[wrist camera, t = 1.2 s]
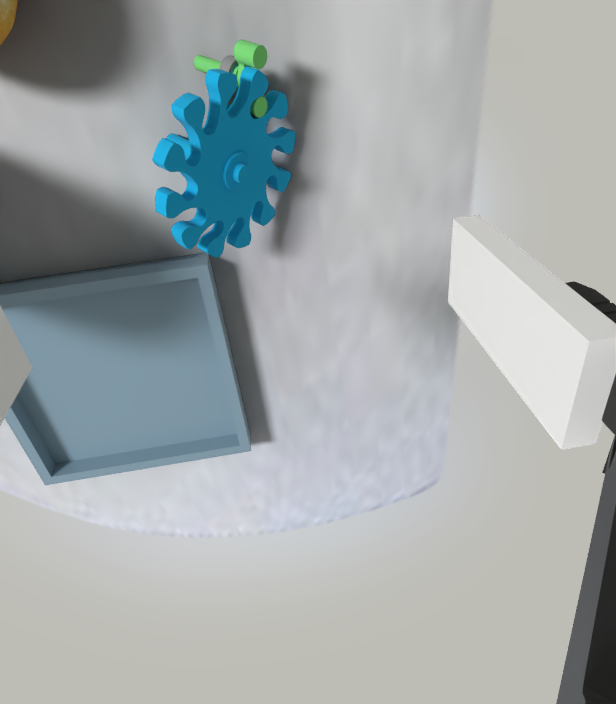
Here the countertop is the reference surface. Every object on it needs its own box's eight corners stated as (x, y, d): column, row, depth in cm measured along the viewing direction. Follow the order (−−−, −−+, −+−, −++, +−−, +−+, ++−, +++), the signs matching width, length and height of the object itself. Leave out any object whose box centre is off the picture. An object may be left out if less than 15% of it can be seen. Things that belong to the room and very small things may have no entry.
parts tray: (208, 252, 34) (207, 264, 32) (250, 434, 44) (251, 450, 42) (-49, 290, 33) (-64, 305, 31) (52, 467, 43) (45, 485, 41)
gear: (272, 261, 33) (152, 262, 25) (209, 228, 36) (80, 219, 27) (329, 81, 29) (207, 10, 21) (254, 58, 31) (118, -13, 23)
